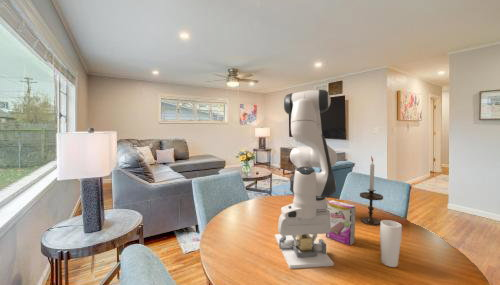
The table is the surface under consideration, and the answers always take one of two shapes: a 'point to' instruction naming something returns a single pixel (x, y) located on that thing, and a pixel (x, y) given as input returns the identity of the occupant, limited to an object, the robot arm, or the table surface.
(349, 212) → the candy bar box
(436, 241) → the table surface
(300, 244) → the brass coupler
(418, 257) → the table surface
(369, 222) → the candlestick
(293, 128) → the robot arm
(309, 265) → the shaft bench
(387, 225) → the white cup
